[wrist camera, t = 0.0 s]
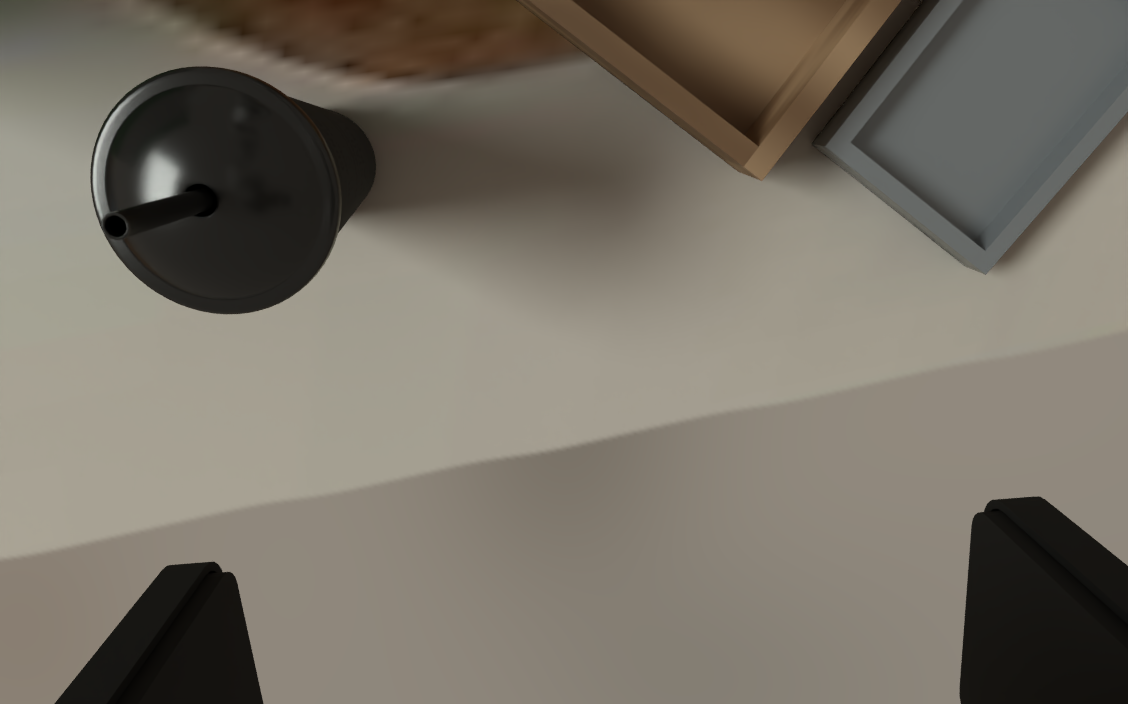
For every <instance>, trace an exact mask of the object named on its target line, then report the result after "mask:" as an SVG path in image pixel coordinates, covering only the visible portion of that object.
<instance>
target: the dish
mask: <svg viewBox="0 0 1128 704" xmlns="http://www.w3.org/2000/svg"><path fill="white" fill-rule="evenodd" d="M1127 112H1128V0H924V1H923V2H922V3H921V4H920V6H919V7H918V8H917V10H916V11H915V12H914V13H913V15H912V16H911V17H910V19H909V20H908V21H907V22H906V24H905V25H904V26H903V28H902V29H901V30H900V31H899V33H898V34H897V35H896V36H895V38H894V39H893V40H892V42H891V43H890V44H889V45H888V47H887V48H886V49H885V51H884V52H883V53H882V54H881V56H880V57H879V58H878V60H877V61H876V62H875V63H874V65H873V66H872V67H871V69H870V70H869V71H868V72H867V74H866V75H865V76H864V78H863V79H862V80H861V81H860V83H859V84H858V85H857V87H856V88H855V89H854V90H853V92H852V93H851V94H850V96H849V97H848V98H847V99H846V101H845V102H844V103H843V104H842V106H841V107H840V108H839V110H838V111H837V112H836V113H835V115H834V116H833V117H832V119H831V120H830V121H829V122H828V124H827V125H826V126H825V128H824V129H823V130H822V131H821V133H820V134H819V135H818V137H817V138H816V139H815V140H814V142H813V143H812V145H813V146H815V147H816V148H817V149H818V150H820V151H821V152H822V153H823V154H825V155H826V156H827V157H828V158H830V159H831V160H832V161H833V162H835V163H836V164H837V165H838V166H840V167H841V168H842V169H843V170H845V171H846V172H847V173H848V174H850V175H851V176H852V177H854V178H855V179H856V180H857V181H859V182H860V183H861V184H862V185H864V186H865V187H866V188H867V189H869V190H870V191H871V192H872V193H874V194H875V195H876V196H877V197H879V198H880V199H881V200H882V201H884V202H885V203H886V204H887V205H889V206H890V207H891V208H892V209H894V210H895V211H896V212H897V213H899V214H900V215H901V216H903V217H904V218H905V219H906V220H908V221H909V222H910V223H911V224H913V225H914V226H915V227H916V228H918V229H919V230H920V231H921V232H923V233H924V234H925V235H926V236H928V237H929V238H930V239H931V240H933V241H934V242H935V243H936V244H938V245H939V246H940V247H941V248H943V249H944V250H945V251H946V252H948V253H949V254H950V255H952V256H953V257H954V258H955V259H957V260H958V261H959V262H960V263H962V264H963V265H964V266H965V267H968V268H970V269H973V270H975V271H978V272H980V273H983V274H985V275H986V274H987V273H988V271H989V270H990V269H991V268H992V267H993V266H994V265H995V263H996V262H997V261H998V260H999V259H1000V258H1001V257H1002V255H1003V254H1004V253H1005V252H1006V251H1007V250H1008V248H1009V247H1010V246H1011V245H1012V244H1013V243H1014V242H1015V240H1016V239H1017V238H1018V237H1019V236H1020V235H1021V234H1022V232H1023V231H1024V230H1025V229H1026V228H1027V227H1028V225H1029V224H1030V223H1031V222H1032V221H1033V220H1034V219H1035V217H1036V216H1037V215H1038V214H1039V213H1040V212H1041V211H1042V209H1043V208H1044V207H1045V206H1046V205H1047V204H1048V203H1049V201H1050V200H1051V199H1052V198H1053V197H1054V196H1055V194H1056V193H1057V192H1058V191H1059V190H1060V189H1061V188H1062V186H1063V185H1064V184H1065V183H1066V182H1067V181H1068V180H1069V178H1070V177H1071V176H1072V175H1073V174H1074V173H1075V172H1076V170H1077V169H1078V168H1079V167H1080V166H1081V165H1082V163H1083V162H1084V161H1085V160H1086V159H1087V158H1088V157H1089V155H1090V154H1091V153H1092V152H1093V151H1094V150H1095V149H1096V147H1097V146H1098V145H1099V144H1100V143H1101V142H1102V141H1103V139H1104V138H1105V137H1106V136H1107V135H1108V134H1109V132H1110V131H1111V130H1112V129H1113V128H1114V127H1115V126H1116V124H1117V123H1118V122H1119V121H1120V120H1121V119H1122V118H1123V116H1124V115H1125V114H1126V113H1127Z"/></svg>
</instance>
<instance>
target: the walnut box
mask: <svg viewBox="0 0 1128 704" xmlns="http://www.w3.org/2000/svg"><path fill="white" fill-rule="evenodd" d="M516 1H518V2H519V3H520V4H522V5H523V6H524V7H525V8H527V9H528V10H529V11H531V12H532V13H533V14H534V15H536V16H537V17H538V18H540V19H541V20H542V21H544V22H545V23H546V24H547V25H549V26H550V27H551V28H553V29H554V30H555V31H557V32H558V33H559V34H560V35H562V36H563V37H564V38H566V39H567V40H568V41H570V42H571V43H572V44H573V45H575V46H576V47H577V48H579V49H580V50H581V51H582V52H584V53H585V54H586V55H588V56H589V57H590V58H592V59H593V60H594V61H595V62H597V63H598V64H599V65H601V66H602V67H603V68H605V69H606V70H607V71H608V72H610V73H611V74H612V75H614V76H615V77H616V78H617V79H619V80H620V81H621V82H623V83H624V84H625V85H627V86H628V87H629V88H630V89H632V90H633V91H634V92H636V93H637V94H638V95H640V96H641V97H642V98H643V99H645V100H646V101H647V102H649V103H650V104H651V105H653V106H654V107H655V108H656V109H658V110H659V111H660V112H662V113H663V114H664V115H665V116H667V117H668V118H669V119H671V120H672V121H673V122H675V123H676V124H677V125H678V126H680V127H681V128H682V129H684V130H685V131H686V132H688V133H689V134H690V135H691V136H693V137H694V138H695V139H697V140H698V141H699V142H700V143H702V144H703V145H704V146H706V147H707V148H708V149H710V150H711V151H712V152H713V153H715V154H716V155H717V156H719V157H720V158H721V159H723V160H724V161H725V162H726V163H728V164H729V165H730V166H732V167H733V168H734V169H736V170H737V171H738V172H740V173H743V174H746V175H748V176H751V177H753V178H756V179H759V180H761V181H762V180H763V179H764V178H765V176H766V175H767V174H768V172H769V171H770V170H771V169H772V167H773V166H774V165H775V163H776V162H777V161H778V159H779V158H780V157H781V156H782V154H783V153H784V152H785V150H786V149H787V148H788V147H789V145H790V144H791V143H792V141H793V140H794V139H795V137H796V136H797V135H798V134H799V132H800V131H801V130H802V128H803V127H804V126H805V125H806V123H807V122H808V121H809V119H810V118H811V117H812V115H813V114H814V113H815V112H816V110H817V109H818V108H819V106H820V105H821V104H822V103H823V101H824V100H825V99H826V97H827V96H828V95H829V93H830V92H831V91H832V90H833V88H834V87H835V86H836V84H837V83H838V82H839V81H840V79H841V78H842V77H843V75H844V74H845V73H846V71H847V70H848V69H849V68H850V66H851V65H852V64H853V62H854V61H855V60H856V59H857V57H858V56H859V55H860V53H861V52H862V51H863V49H864V48H865V47H866V46H867V44H868V43H869V42H870V40H871V39H872V38H873V37H874V35H875V34H876V33H877V31H878V30H879V29H880V27H881V26H882V25H883V24H884V22H885V21H886V20H887V18H888V17H889V16H890V15H891V13H892V12H893V11H894V9H895V8H896V7H897V5H898V4H899V3H900V2H901V0H516Z"/></svg>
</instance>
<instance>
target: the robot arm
mask: <svg viewBox="0 0 1128 704" xmlns="http://www.w3.org/2000/svg"><path fill="white" fill-rule="evenodd" d="M964 624H965V625H964V636H963V650H962V663H961V678H960V701H961V704H1128V566H1127V565H1126V564H1125V563H1123V562H1122V561H1121V560H1120V559H1118V558H1117V557H1116V556H1115V555H1113V554H1112V553H1111V552H1110V551H1108V550H1107V549H1106V548H1105V547H1103V546H1102V545H1101V544H1100V543H1099V542H1097V541H1096V540H1095V539H1094V538H1092V537H1091V536H1090V535H1089V534H1087V533H1086V532H1085V531H1084V530H1082V529H1081V528H1080V527H1079V526H1077V525H1076V524H1075V523H1074V522H1072V521H1071V520H1070V519H1069V518H1067V517H1066V516H1065V515H1064V514H1063V513H1061V512H1060V511H1059V510H1057V509H1056V508H1055V507H1054V506H1053V505H1051V504H1050V503H1049V502H1047V501H1046V500H1045V499H1043V498H1041V497H1024V498H1011V499H998V500H991V501H990V502H989V503H988V504H987V506H986V508H985V510H984V512H980V513H977V514H976V515H975V516H974V518H973V521H972V529H971V543H970V556H969V570H968V583H967V596H966V610H965V623H964ZM55 704H263V700H262V695H261V691H260V686H259V682H258V677H257V672H256V668H255V663H254V658H253V654H252V649H251V645H250V640H249V636H248V631H247V626H246V621H245V617H244V612H243V608H242V603H241V598H240V594H239V589H238V584H237V581H236V578H235V576H234V575H233V574H232V573H231V572H222V570H221V568H220V566H219V565H218V564H217V563H215V562H205V563H191V564H179V565H169V566H166V567H165V568H164V569H163V570H162V571H161V572H160V573H159V575H158V576H157V577H156V578H155V580H154V581H153V582H152V583H151V585H150V586H149V587H148V588H147V590H146V591H145V592H144V593H143V594H142V596H141V597H140V598H139V600H138V601H137V602H136V603H135V604H134V606H133V607H132V608H131V609H130V611H129V612H128V613H127V614H126V616H125V617H124V618H123V619H122V621H121V622H120V623H119V624H118V626H117V627H116V628H115V629H114V630H113V632H112V633H111V634H110V636H109V637H108V638H107V639H106V640H105V642H104V643H103V644H102V645H101V647H100V648H99V649H98V651H97V652H96V653H95V654H94V655H93V657H92V658H91V659H90V661H89V662H88V663H87V664H86V665H85V667H84V668H83V669H82V670H81V672H80V673H79V674H78V675H77V676H76V678H75V679H74V680H73V681H72V683H71V684H70V685H69V687H68V688H67V689H66V690H65V691H64V693H63V694H62V695H61V696H60V698H59V699H58V700H57V701H56V703H55Z"/></svg>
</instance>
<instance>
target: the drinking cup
mask: <svg viewBox="0 0 1128 704" xmlns="http://www.w3.org/2000/svg"><path fill="white" fill-rule="evenodd" d="M375 170H376V163H375V156H374V152H373V149H372V146H371V144H370V142H369V140H368V138H367V136H366V135H365V134H364V132H363V131H362V130H361V129H360V128H359V126H357V125H356V124H355V123H354V122H353V121H351V120H350V119H348V118H347V117H345V116H343V115H341V114H339V113H336V112H333V111H330V110H327V109H324V108H321V107H318V106H315V105H312V104H309V103H306V102H303V101H300V100H297V99H294V98H291V97H288V96H286V95H285V94H284V93H282V92H281V91H279V90H278V89H276V88H275V87H273V86H271V85H270V84H268V83H266V82H264V81H262V80H260V79H258V78H255V77H253V76H250V75H248V74H245V73H241V72H238V71H234V70H230V69H225V68H218V67H186V68H179V69H175V70H170V71H167V72H164V73H161V74H158V75H156V76H154V77H151V78H149V79H147V80H145V81H144V82H142V83H140V84H139V85H137V86H136V87H134V88H133V89H132V90H131V91H129V92H128V93H127V94H126V95H125V96H124V97H123V98H122V99H121V100H120V101H119V102H118V103H117V104H116V105H115V107H114V108H113V109H112V110H111V112H110V113H109V115H108V116H107V118H106V120H105V121H104V123H103V125H102V127H101V129H100V132H99V134H98V137H97V140H96V143H95V146H94V151H93V155H92V162H91V192H92V198H93V203H94V207H95V211H96V215H97V218H98V220H99V223H100V226H101V228H102V230H103V232H104V234H105V237H106V238H107V240H108V242H109V244H110V245H111V247H112V249H113V250H114V251H115V253H116V254H117V256H118V257H119V258H120V260H121V261H122V262H123V263H124V264H125V266H126V267H127V268H128V269H129V270H130V271H131V272H132V273H133V274H134V275H135V276H136V277H137V278H138V279H140V280H141V281H142V282H143V283H144V284H146V285H147V286H148V287H150V288H151V289H153V290H154V291H155V292H157V293H159V294H160V295H162V296H164V297H166V298H167V299H169V300H172V301H174V302H176V303H178V304H180V305H183V306H186V307H188V308H192V309H195V310H199V311H203V312H209V313H216V314H242V313H250V312H255V311H259V310H263V309H266V308H269V307H272V306H274V305H276V304H279V303H281V302H283V301H284V300H286V299H288V298H290V297H291V296H293V295H294V294H296V293H297V292H299V291H300V290H301V289H302V288H303V287H305V286H306V285H307V284H308V283H309V282H310V281H311V280H312V279H313V278H314V277H315V276H316V275H317V273H318V272H319V271H320V269H321V268H322V267H323V265H324V264H325V262H326V260H327V259H328V257H329V255H330V253H331V251H332V249H333V246H334V244H335V241H336V238H337V235H338V233H339V231H340V230H341V229H342V227H343V226H344V225H345V223H346V222H347V221H348V220H349V218H350V217H351V216H352V214H353V213H354V212H355V210H356V209H357V208H358V206H359V205H360V204H361V203H362V201H363V200H364V199H365V197H366V196H367V194H368V193H369V191H370V189H371V187H372V185H373V182H374V178H375Z"/></svg>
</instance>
